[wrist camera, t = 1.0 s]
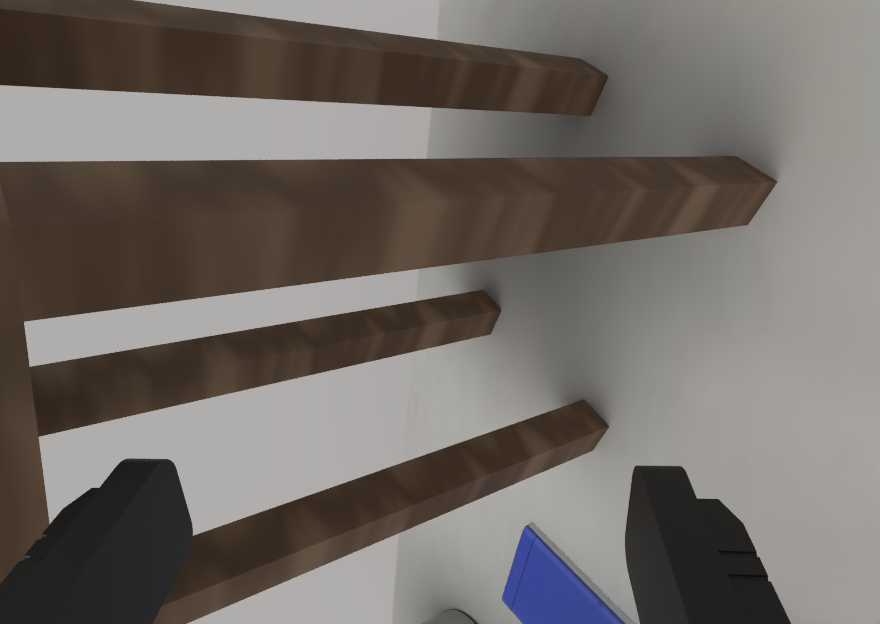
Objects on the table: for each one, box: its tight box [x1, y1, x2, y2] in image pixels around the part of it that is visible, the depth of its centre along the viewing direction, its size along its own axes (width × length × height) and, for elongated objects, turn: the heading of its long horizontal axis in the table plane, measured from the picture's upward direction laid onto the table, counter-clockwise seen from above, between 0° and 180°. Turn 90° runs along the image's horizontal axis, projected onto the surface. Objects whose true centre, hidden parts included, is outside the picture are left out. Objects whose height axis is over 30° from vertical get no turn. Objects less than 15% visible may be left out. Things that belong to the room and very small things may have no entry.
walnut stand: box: [0, 0, 777, 624], centre depth 30 cm, size 14×20×32 cm
